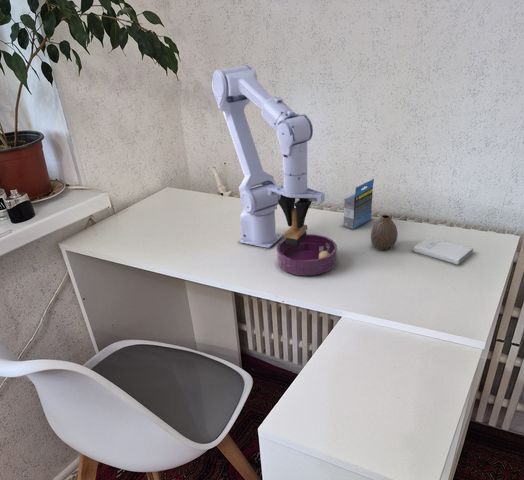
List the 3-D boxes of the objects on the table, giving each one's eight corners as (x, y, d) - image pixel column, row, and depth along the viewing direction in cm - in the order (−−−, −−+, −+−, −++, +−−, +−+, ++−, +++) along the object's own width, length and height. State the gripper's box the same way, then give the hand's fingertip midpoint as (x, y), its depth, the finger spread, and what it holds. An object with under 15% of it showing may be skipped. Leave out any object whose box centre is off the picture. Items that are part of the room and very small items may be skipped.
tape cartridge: (360, 216, 153) (363, 175, 146) (371, 219, 151) (374, 178, 144) (342, 226, 149) (344, 184, 141) (353, 229, 146) (355, 187, 139)
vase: (396, 253, 134) (399, 222, 128) (369, 252, 135) (371, 221, 130) (396, 242, 139) (399, 211, 133) (370, 241, 140) (372, 210, 135)
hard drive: (457, 265, 127) (412, 252, 134) (472, 253, 131) (428, 240, 138) (458, 259, 126) (413, 246, 133) (473, 247, 130) (429, 235, 137)
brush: (284, 244, 129) (283, 213, 124) (294, 234, 134) (294, 203, 128) (297, 247, 128) (297, 215, 123) (307, 236, 132) (307, 205, 127)
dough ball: (320, 251, 128) (330, 258, 128) (323, 246, 130) (333, 253, 130) (315, 260, 130) (324, 266, 130) (318, 255, 132) (327, 261, 132)
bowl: (267, 270, 131) (266, 254, 128) (293, 245, 141) (293, 230, 138) (321, 282, 124) (321, 266, 121) (345, 255, 134) (346, 240, 132)
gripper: (330, 170, 120) (328, 224, 128) (276, 163, 126) (278, 215, 134) (317, 180, 115) (317, 235, 123) (262, 172, 121) (265, 225, 129)
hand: (296, 225), depth 128 cm, fingers closed on brush, 2 cm apart
